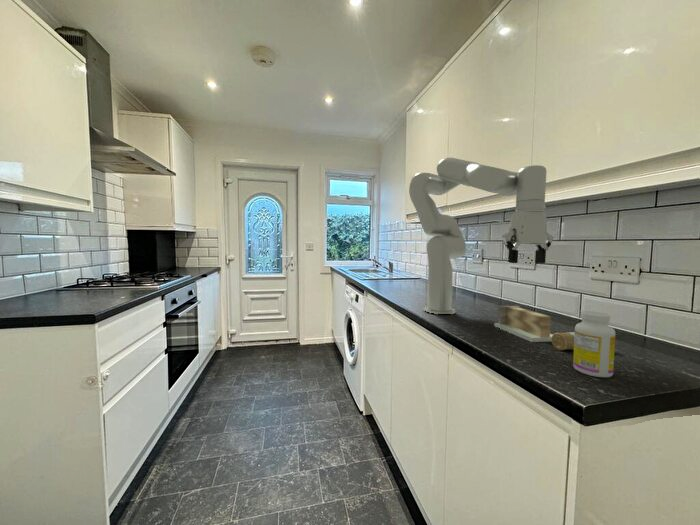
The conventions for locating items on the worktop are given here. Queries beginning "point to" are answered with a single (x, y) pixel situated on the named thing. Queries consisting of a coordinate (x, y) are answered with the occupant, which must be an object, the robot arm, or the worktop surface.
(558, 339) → the sprinkles bottle
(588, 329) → the supplement bottle
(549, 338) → the board
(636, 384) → the worktop surface
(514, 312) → the light brown wooden block
